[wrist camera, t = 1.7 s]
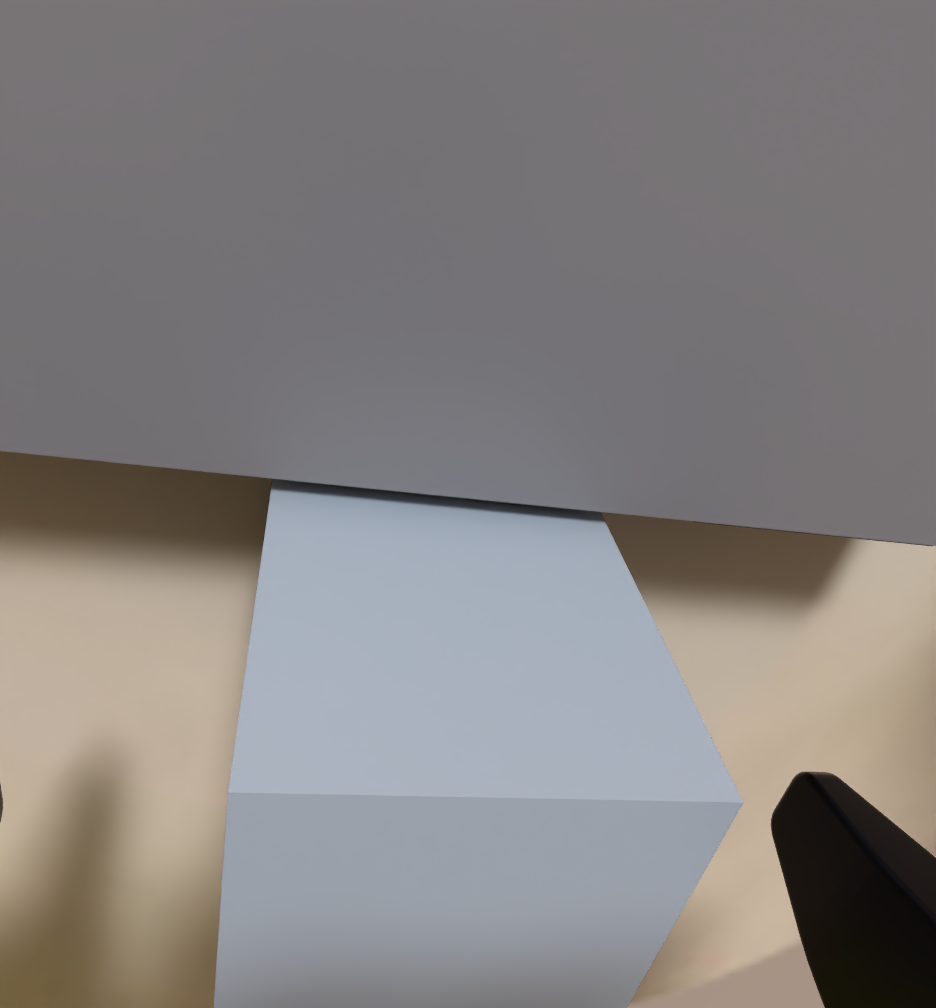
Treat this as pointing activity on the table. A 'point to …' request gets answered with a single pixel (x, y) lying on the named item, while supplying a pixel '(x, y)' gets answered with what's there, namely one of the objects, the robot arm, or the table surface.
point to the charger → (456, 763)
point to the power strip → (482, 250)
